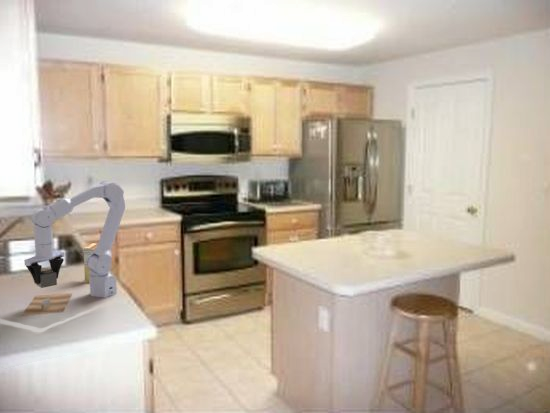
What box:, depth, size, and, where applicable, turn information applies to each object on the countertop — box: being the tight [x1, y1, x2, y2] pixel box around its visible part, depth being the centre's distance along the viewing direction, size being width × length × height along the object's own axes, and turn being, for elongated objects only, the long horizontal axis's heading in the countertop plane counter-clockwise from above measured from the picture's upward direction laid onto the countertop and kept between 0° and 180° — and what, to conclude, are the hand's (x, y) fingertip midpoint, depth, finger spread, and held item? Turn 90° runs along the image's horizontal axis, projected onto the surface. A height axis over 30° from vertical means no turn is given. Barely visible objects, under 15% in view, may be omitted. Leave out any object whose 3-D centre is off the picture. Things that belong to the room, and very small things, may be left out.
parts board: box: [20, 292, 73, 316], centre depth 168 cm, size 21×13×1 cm, turn 15°
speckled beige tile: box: [41, 298, 50, 309], centre depth 163 cm, size 1×3×3 cm, turn 155°
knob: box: [35, 268, 58, 289], centre depth 166 cm, size 5×5×5 cm
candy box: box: [83, 242, 98, 285], centre depth 199 cm, size 9×4×15 cm, turn 179°
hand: (46, 280), depth 166 cm, fingers closed on knob, 6 cm apart
